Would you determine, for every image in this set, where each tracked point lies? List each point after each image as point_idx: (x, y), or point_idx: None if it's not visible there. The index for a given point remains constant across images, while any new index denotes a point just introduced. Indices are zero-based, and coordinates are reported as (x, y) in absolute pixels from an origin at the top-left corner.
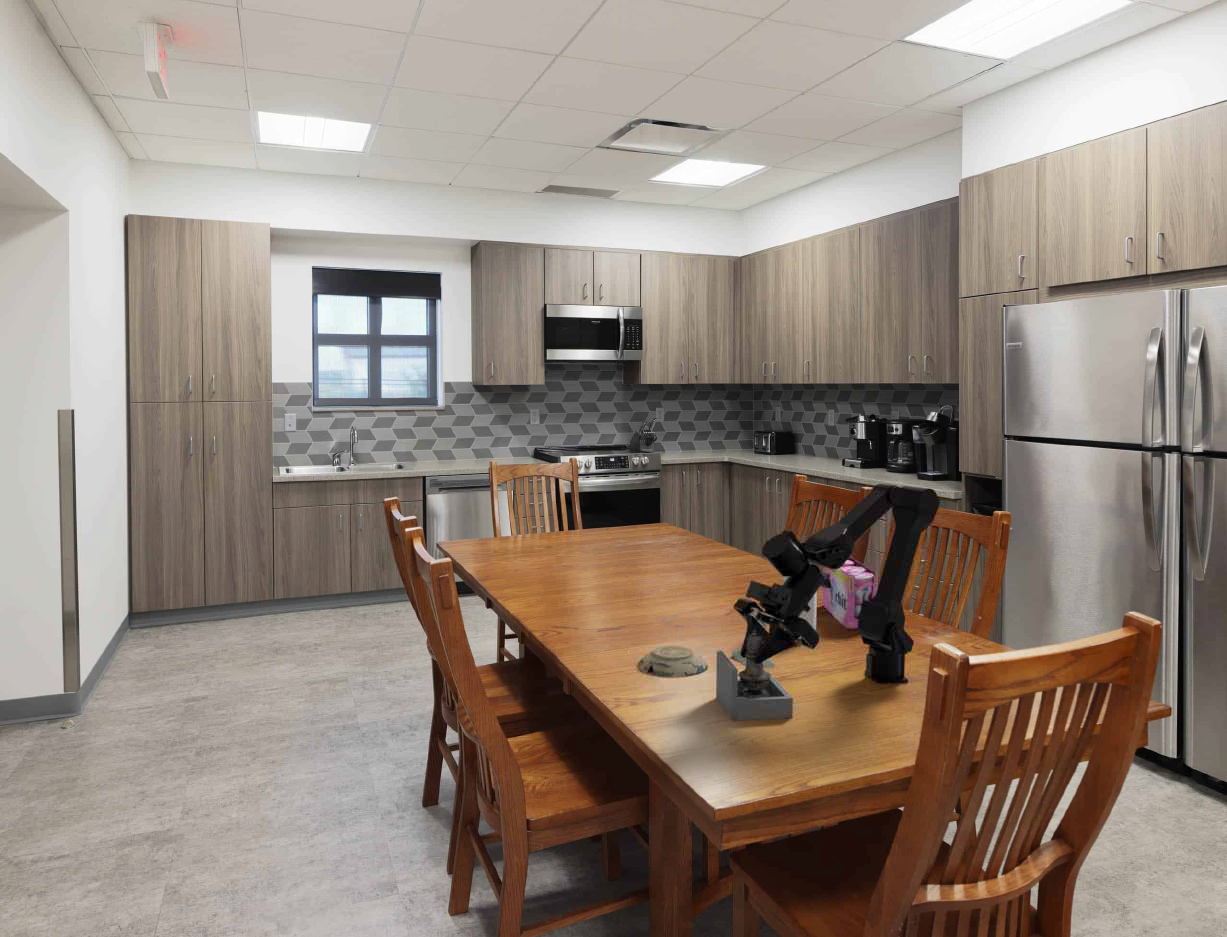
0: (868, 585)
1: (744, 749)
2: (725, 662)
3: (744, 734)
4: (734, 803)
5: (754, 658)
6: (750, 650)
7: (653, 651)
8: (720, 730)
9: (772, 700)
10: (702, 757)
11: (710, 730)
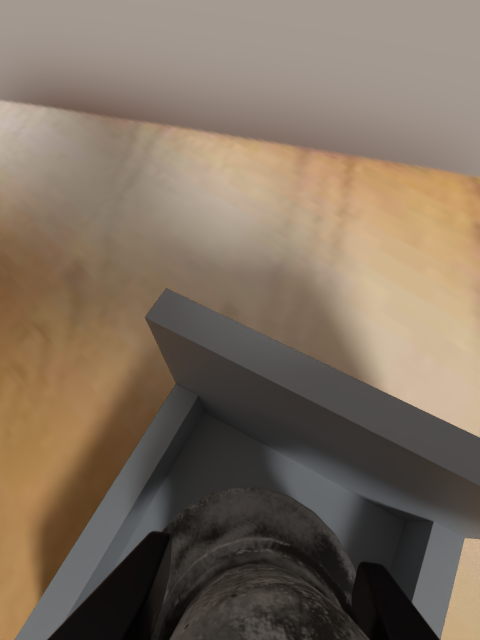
0: None
1: (24, 275)
2: (321, 363)
3: (89, 345)
4: None
5: (161, 543)
6: (236, 572)
7: None
8: None
9: (72, 551)
10: (80, 177)
11: (184, 285)
